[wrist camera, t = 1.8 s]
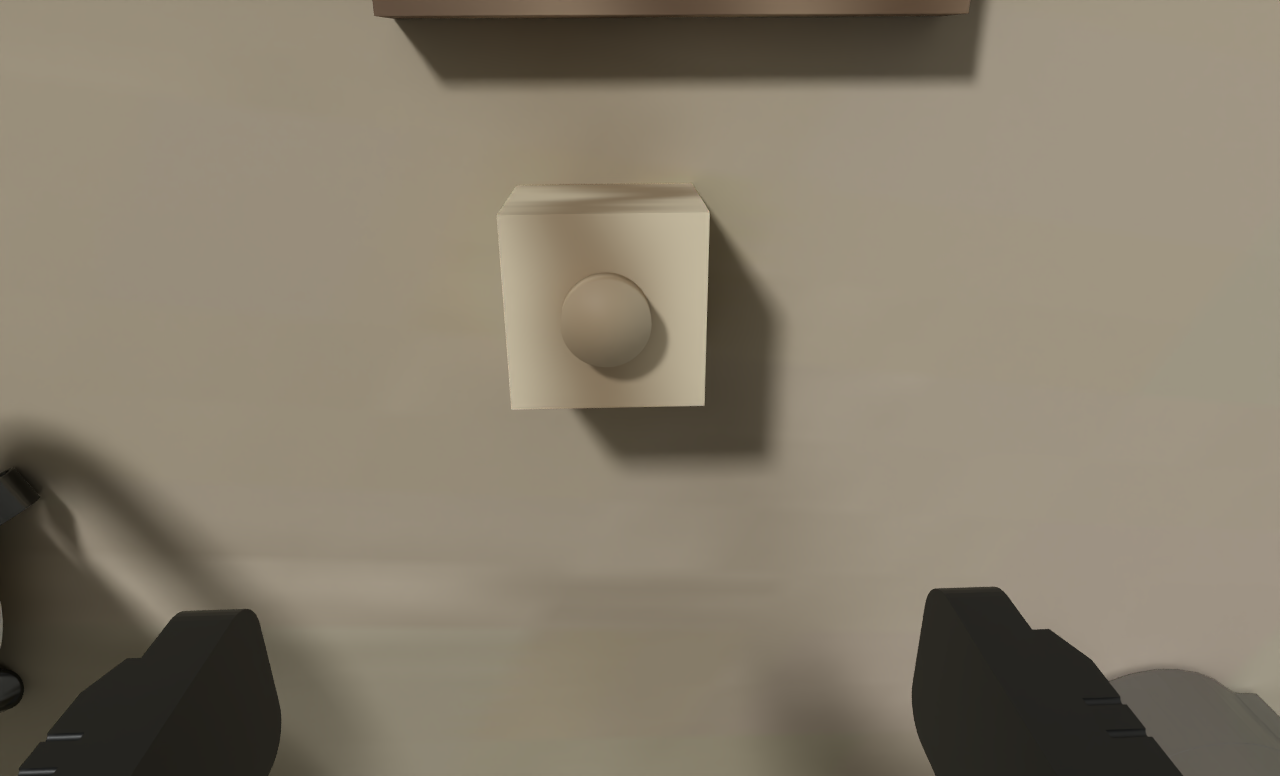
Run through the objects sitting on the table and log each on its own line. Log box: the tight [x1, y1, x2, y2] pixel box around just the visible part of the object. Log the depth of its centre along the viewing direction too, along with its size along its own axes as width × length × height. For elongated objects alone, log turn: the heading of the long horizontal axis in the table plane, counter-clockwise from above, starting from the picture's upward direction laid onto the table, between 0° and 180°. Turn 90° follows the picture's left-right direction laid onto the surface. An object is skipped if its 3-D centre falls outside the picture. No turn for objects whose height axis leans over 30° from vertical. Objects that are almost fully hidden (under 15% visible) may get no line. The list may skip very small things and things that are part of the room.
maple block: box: [497, 183, 710, 410], centre depth 24 cm, size 6×6×6 cm
